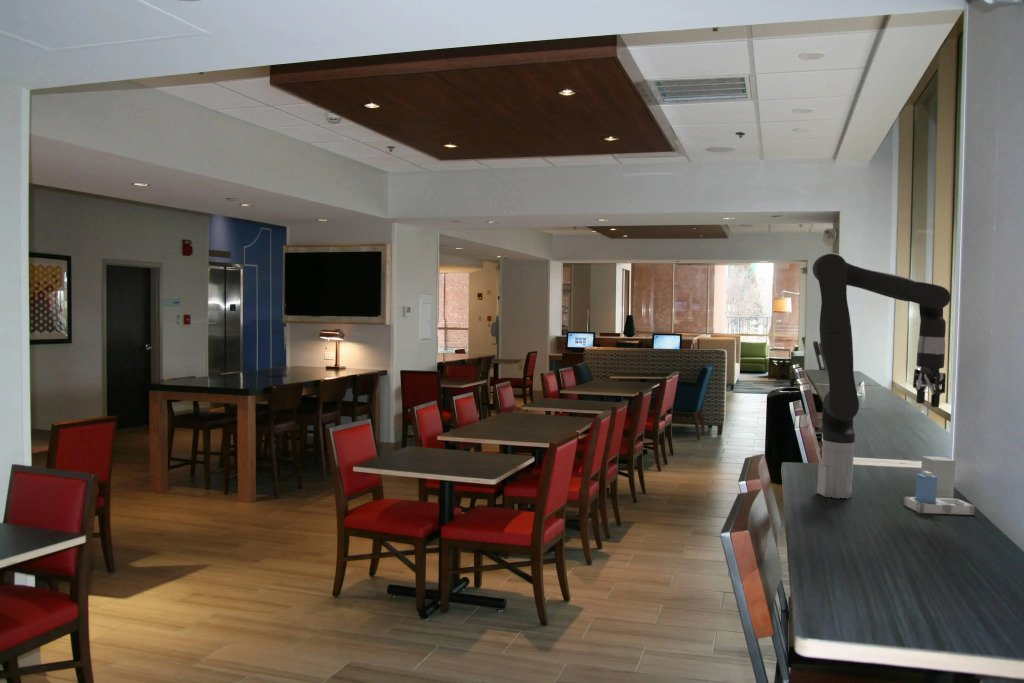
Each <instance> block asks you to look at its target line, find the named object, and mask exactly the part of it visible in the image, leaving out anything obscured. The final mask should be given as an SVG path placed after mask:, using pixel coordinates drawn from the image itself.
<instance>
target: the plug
mask: <svg viewBox="0 0 1024 683" xmlns="http://www.w3.org/2000/svg"><path fill="white" fill-rule="evenodd" d="M915 481H916V483H915V495H914V497H915V500H916V501H918V502H921V503H936V489H937V477H936V476H933V475H932V473H930V472H928V471H922V474H921V473H916V480H915Z"/></svg>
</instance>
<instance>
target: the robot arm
mask: <svg viewBox="0 0 1024 683" xmlns="http://www.w3.org/2000/svg"><path fill="white" fill-rule="evenodd" d="M812 274H813V277H815V278H816V280H817V281H818V284H819V290H820V298H821V305H820V306H821V307H820V312H819V314H820V315H819V342H820V343H819V344H820V349H821V353H822V354H821V355H822V357H823V360H824V364H825V367H826V371H827V375H828V382H829V384H828V386H829V389H828V392H827V393H826V394H825V396H824V398H823V403H822V416H821V417H822V418H821V419H822V420H821V422H822V423H821V429H822V446H821V462H818V468H817V469H818V473H817V486H816V489H817V490H816V493H817V494H819V495H821V496H822V497H824V498H831V497H832V499H833V498H834V499H840V498H842V499H843V498H846V499H850V497H851V498H852V490H853V471H854V454H855V438H856V434H855V429H854V418H855V417H856V415H857V414H858V412H859V408H860V401H859V397H858V392H857V391H858V390H857V386H856V382H855V381H856V380H855V374H854V372H855V371H854V349H853V348H854V347H853V345H854V343H853V334H852V333H853V332H852V324H851V317H850V316H851V315H850V310H849V304H848V298H847V296H848V295H847V293H848V292H847V291H848V290H847V286H849V287H853V288H858V289H862V290H865V291H868V292H871V293H874V294H879V295H881V296H884V297H888V298H892V299H894V300H899V301H903V302H911V303H915V304H918V305H919V306H918V308H919V320H920V323H919V333H918V336H919V337H918V342H917V353H916V367H919V368H915V369H914V372H913V382H912V388H913V389H915V391H916V400H915V401H916V404H925V401H926V400H925V399H926V389H927V388H929V389H930V392H931V398H930V407H931V408H939V407H940V400H941V399H940V397H941V395H942V394H945V393H946V378H947V377H946V375H947V374H946V373H945V372H940V369H944V367H945V360H946V330H947V328H946V327H947V322H946V320H945V318H944V308H945V307H946V306H948V305H949V303H950V301H951V293H950V291H949V290H948V289H947V288H946V287H944V286H941V285H938V284H935V283H930V282H925V281H924V282H923V281H918V280H916V279H913V278H910V277H907V276H906V277H905V276H901V275H899V274H893V273H890V272H886V271H880V270H879V271H878V270H874V269H869V268H864V267H861V266H858V265H853V264H851V263H849V262H847V261H846V260H845V258H844V257H843V256H842V255H840V254H838V253H835V252H834V253H833V252H830V253H826V254H823V255H820V256H819V257H817V259H815V261H814V263H813V265H812ZM842 499H841V500H842Z"/></svg>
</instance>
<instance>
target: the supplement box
mask: <svg viewBox="0 0 1024 683" xmlns="http://www.w3.org/2000/svg"><path fill="white" fill-rule="evenodd" d="M956 463H957V462H956V460H953V459H951V458H948V457H945V456H925V455H923V456H922V457H921V466H920V467H921V471H920V474H922V471H928V472H930V473H932V475H933V476H936V477H937V489H936V498H954V494H955V492H954V489H955V475H956Z"/></svg>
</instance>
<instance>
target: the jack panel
mask: <svg viewBox="0 0 1024 683" xmlns="http://www.w3.org/2000/svg"><path fill="white" fill-rule="evenodd" d="M903 500H904V501H903V505H904V506H905V507H906V508H909V509H911V510H913V511H915V512H917V513H919V514H941V515H943V514H945V515H967V516H968V515H971V516H974V515H975V505H973V504H971V503H969V502H966V501H964V500H961V499H959V498H954V497H953V498H936V503H921V502H918V501H916V500H915V496H904V498H903Z"/></svg>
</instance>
